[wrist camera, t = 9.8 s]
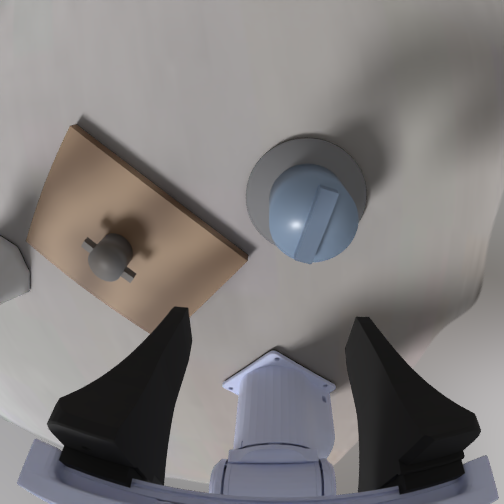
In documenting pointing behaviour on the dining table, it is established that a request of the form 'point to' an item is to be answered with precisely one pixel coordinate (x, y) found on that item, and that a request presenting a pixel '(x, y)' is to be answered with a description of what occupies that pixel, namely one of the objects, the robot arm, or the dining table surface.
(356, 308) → the dining table surface
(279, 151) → the coaster
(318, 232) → the cap
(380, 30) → the dining table surface
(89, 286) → the post base
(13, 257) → the flask
